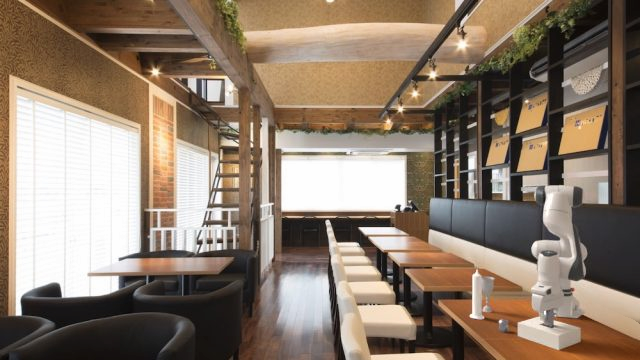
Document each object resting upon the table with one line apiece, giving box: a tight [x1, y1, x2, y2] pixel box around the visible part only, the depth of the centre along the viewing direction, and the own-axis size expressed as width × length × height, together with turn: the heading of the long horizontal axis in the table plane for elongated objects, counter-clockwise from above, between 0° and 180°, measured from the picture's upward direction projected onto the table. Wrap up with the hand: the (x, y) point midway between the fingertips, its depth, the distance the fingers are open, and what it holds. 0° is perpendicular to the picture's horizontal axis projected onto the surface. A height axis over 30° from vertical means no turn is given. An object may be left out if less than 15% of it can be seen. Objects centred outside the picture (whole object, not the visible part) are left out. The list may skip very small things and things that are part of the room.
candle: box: [469, 268, 485, 320], centre depth 206 cm, size 7×7×25 cm
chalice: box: [482, 276, 495, 313], centre depth 217 cm, size 7×7×18 cm
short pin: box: [498, 318, 509, 334], centre depth 187 cm, size 4×4×5 cm
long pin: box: [544, 308, 555, 328], centre depth 178 cm, size 4×4×14 cm
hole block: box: [517, 316, 582, 351], centre depth 178 cm, size 18×18×6 cm
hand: (548, 318), depth 178 cm, fingers open, 8 cm apart
